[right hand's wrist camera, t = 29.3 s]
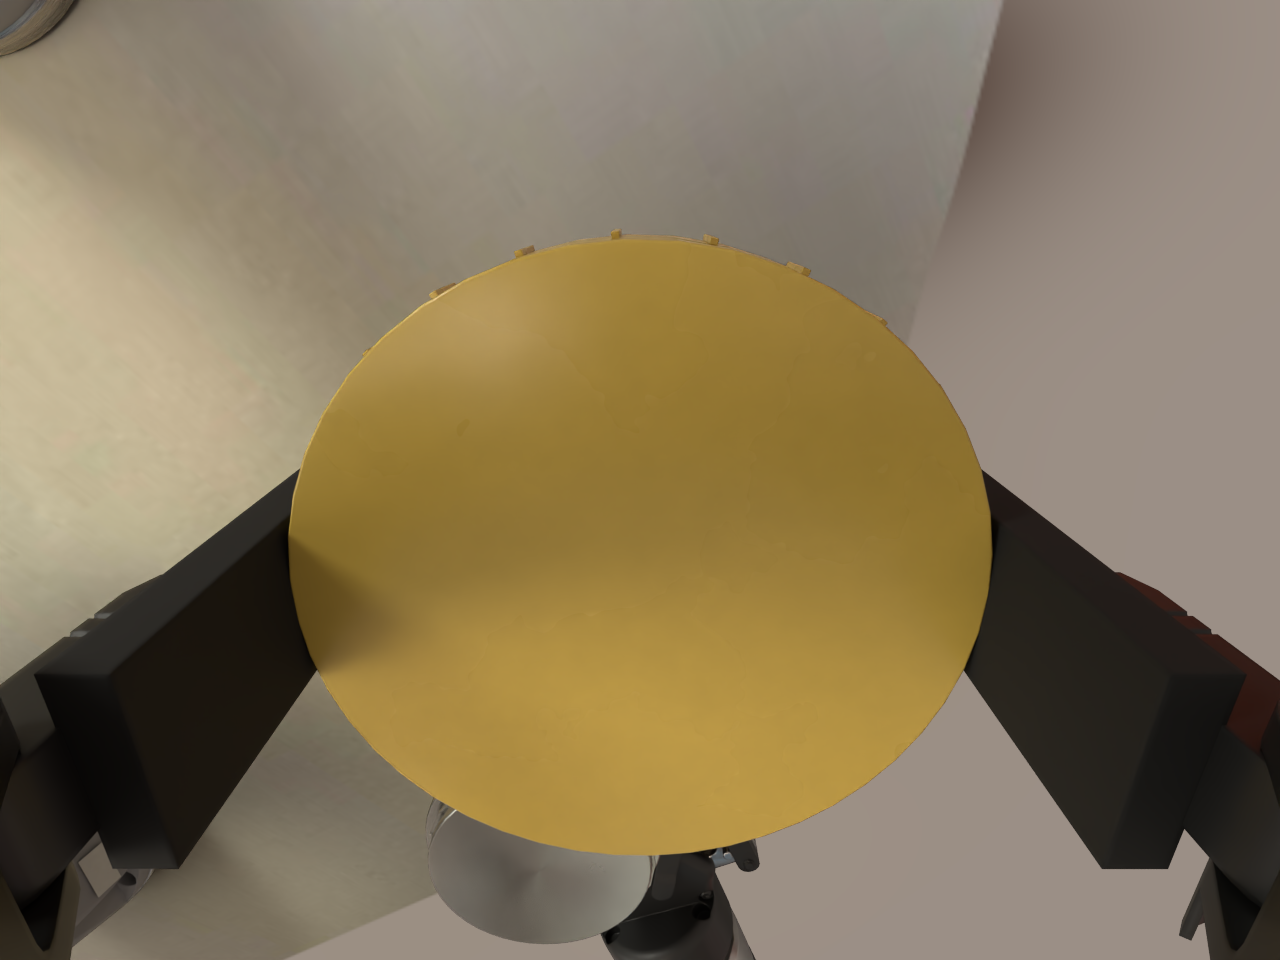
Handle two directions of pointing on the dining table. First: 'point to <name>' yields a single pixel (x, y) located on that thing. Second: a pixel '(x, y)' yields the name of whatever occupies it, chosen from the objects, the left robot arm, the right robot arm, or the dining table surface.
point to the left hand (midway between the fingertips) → (528, 654)
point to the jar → (529, 881)
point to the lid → (640, 546)
